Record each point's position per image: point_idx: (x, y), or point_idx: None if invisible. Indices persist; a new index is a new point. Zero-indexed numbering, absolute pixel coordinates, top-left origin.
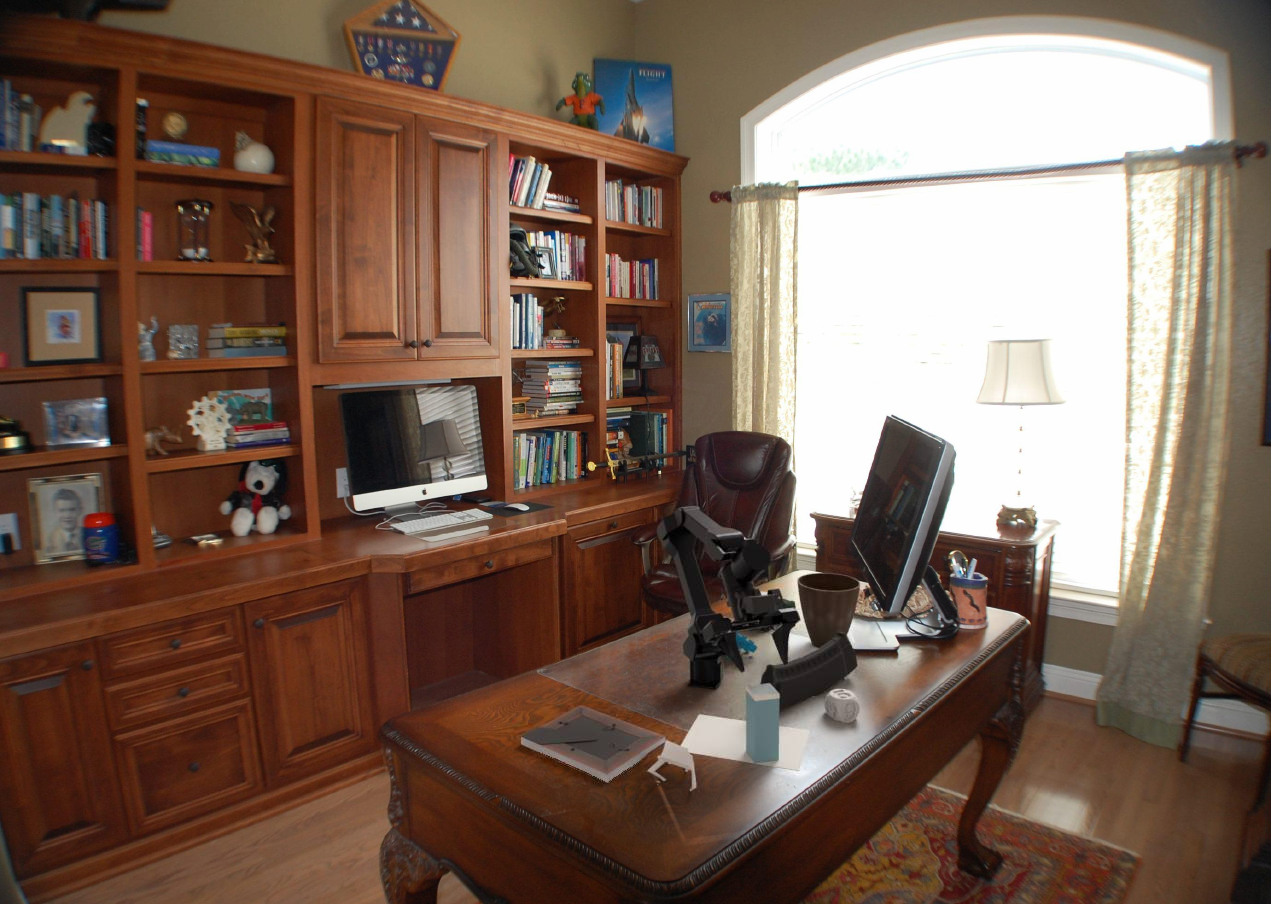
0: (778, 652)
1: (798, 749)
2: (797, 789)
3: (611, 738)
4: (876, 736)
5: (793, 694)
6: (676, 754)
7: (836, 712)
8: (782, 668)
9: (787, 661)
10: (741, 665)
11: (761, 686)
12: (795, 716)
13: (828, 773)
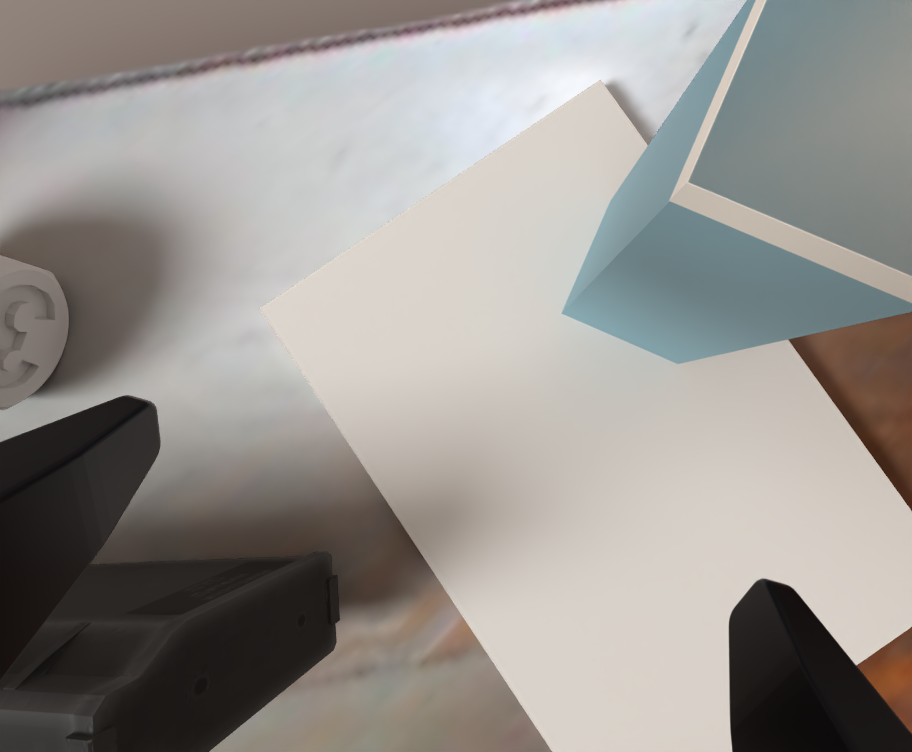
0: (24, 643)
1: (456, 213)
2: (697, 6)
3: None
4: (36, 95)
5: None
6: None
7: (29, 298)
8: (2, 689)
9: (117, 402)
10: (828, 644)
11: (827, 180)
12: (180, 489)
13: (486, 12)
